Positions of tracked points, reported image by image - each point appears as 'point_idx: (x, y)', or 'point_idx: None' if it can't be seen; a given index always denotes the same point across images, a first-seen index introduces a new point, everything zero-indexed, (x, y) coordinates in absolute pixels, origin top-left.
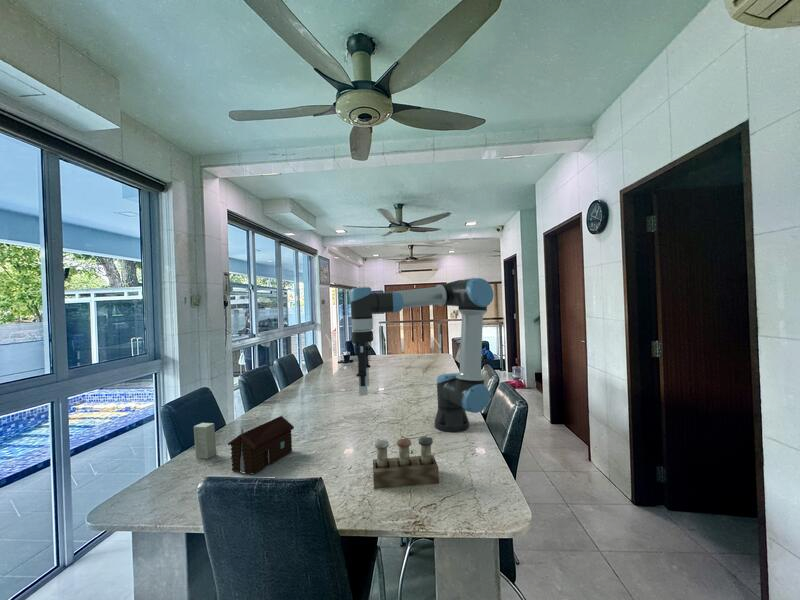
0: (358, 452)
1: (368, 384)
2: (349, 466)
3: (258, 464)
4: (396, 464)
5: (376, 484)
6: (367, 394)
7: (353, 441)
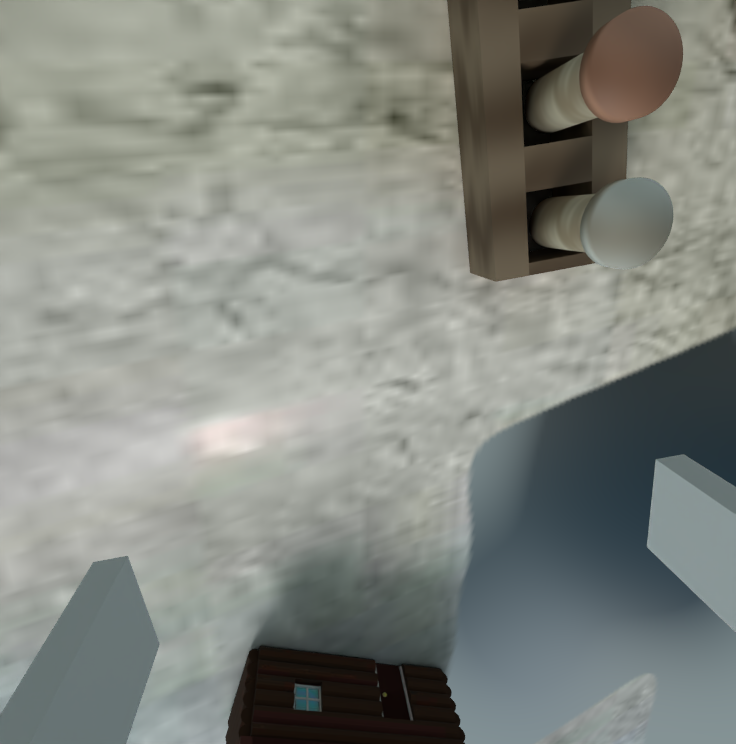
0: (244, 386)
1: (121, 582)
2: (390, 390)
3: (431, 689)
4: (566, 147)
5: None
6: (664, 460)
7: (107, 443)
